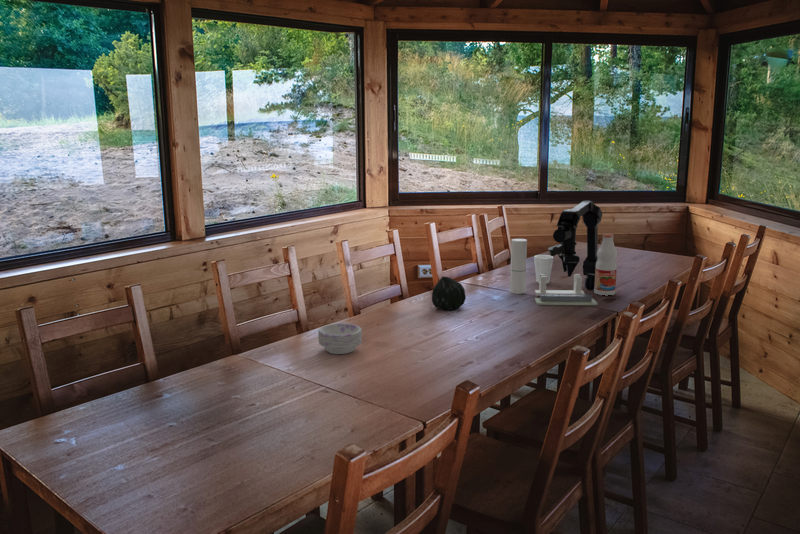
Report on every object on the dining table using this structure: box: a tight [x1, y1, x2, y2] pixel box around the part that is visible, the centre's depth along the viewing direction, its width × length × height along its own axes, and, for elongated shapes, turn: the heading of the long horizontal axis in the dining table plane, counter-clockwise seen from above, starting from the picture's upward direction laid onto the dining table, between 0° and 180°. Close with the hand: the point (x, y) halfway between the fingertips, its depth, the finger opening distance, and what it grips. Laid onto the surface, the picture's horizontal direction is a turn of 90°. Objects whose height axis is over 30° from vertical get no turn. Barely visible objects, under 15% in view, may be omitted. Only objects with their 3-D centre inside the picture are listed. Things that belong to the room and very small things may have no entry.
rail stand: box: [534, 273, 586, 297], centre depth 292 cm, size 22×6×9 cm, turn 87°
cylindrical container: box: [509, 238, 528, 295], centre depth 295 cm, size 7×7×25 cm
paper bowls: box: [317, 322, 363, 355], centre depth 222 cm, size 15×15×8 cm
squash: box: [431, 276, 467, 311], centre depth 272 cm, size 14×15×15 cm
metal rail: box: [539, 294, 593, 302], centre depth 279 cm, size 22×3×2 cm, turn 87°
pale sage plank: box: [534, 297, 599, 306], centre depth 279 cm, size 26×8×1 cm, turn 87°
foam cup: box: [533, 254, 554, 284], centre depth 315 cm, size 10×9×13 cm
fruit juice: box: [593, 233, 618, 297], centre depth 291 cm, size 9×9×28 cm
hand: (567, 274), depth 277 cm, fingers open, 9 cm apart
